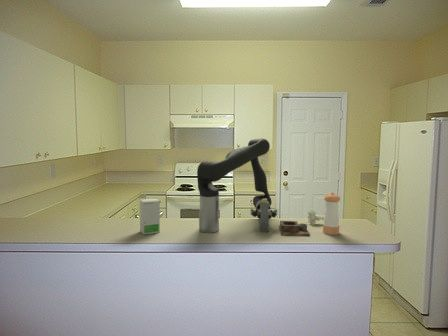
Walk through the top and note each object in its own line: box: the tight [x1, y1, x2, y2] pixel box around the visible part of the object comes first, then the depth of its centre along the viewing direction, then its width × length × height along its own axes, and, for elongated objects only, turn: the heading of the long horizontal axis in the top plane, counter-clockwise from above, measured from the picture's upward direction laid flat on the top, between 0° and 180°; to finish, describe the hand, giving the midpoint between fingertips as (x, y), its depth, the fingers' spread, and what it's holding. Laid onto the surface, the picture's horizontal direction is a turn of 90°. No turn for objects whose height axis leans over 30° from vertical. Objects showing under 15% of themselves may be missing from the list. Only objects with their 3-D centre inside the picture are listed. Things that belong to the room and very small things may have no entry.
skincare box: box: [139, 198, 161, 236], centre depth 151 cm, size 8×7×16 cm
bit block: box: [278, 220, 311, 237], centre depth 152 cm, size 13×12×4 cm
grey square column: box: [259, 199, 270, 233], centre depth 152 cm, size 4×4×16 cm
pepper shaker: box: [322, 192, 341, 236], centre depth 150 cm, size 7×7×19 cm
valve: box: [307, 210, 325, 225], centre depth 164 cm, size 7×7×12 cm
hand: (264, 217), depth 150 cm, fingers closed on grey square column, 4 cm apart
